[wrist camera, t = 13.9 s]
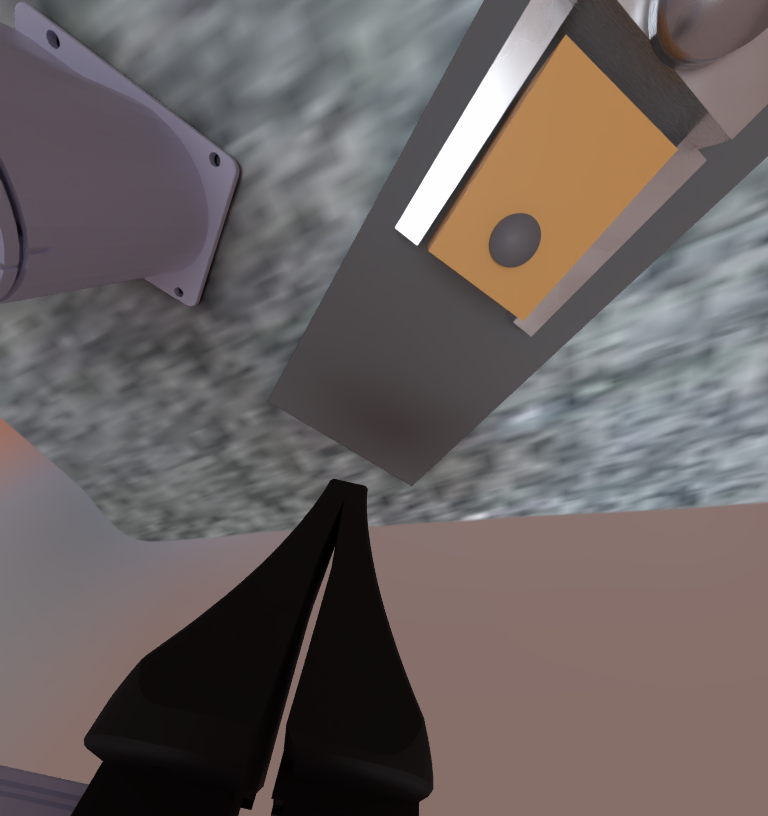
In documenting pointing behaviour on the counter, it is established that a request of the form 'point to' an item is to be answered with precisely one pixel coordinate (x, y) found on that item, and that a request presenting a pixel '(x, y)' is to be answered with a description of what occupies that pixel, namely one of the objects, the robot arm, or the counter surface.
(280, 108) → the counter surface
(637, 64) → the sliding latch
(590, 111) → the block
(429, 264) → the mat
